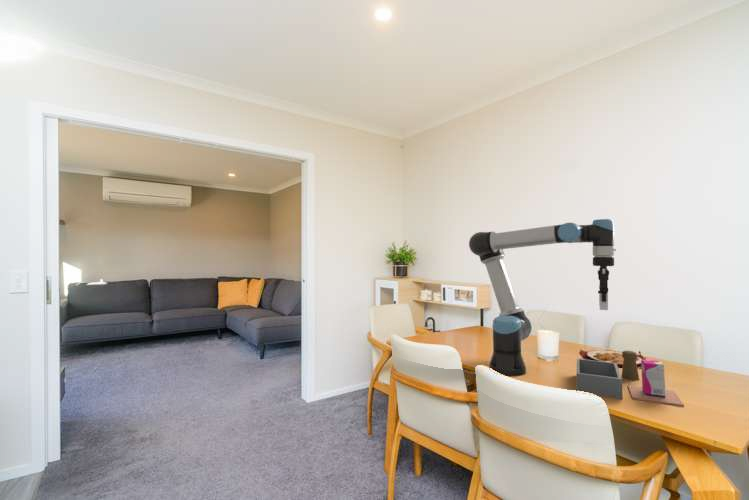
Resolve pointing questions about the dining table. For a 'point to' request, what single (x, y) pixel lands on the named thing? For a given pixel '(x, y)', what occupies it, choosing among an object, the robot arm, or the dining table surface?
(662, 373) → the supplement box
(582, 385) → the rectangular frame
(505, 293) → the robot arm
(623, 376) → the cork
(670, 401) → the mat
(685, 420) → the dining table surface
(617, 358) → the plate with food
